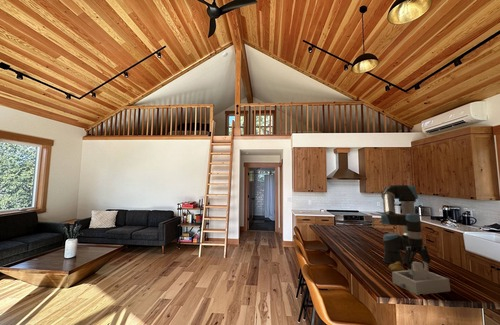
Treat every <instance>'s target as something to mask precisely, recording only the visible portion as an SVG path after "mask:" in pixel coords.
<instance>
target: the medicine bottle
mask: <svg viewBox="0 0 500 325" xmlns="http://www.w3.org/2000/svg"><path fill="white" fill-rule="evenodd" d="M423 262H424V261H421V260H413V261H412V263H411V264H413V272H414V275H412V278H413V280H415V281H418V280H427V274H426V269H424V263H423Z"/></svg>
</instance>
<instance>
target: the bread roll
mask: <svg viewBox="0 0 500 325" xmlns="http://www.w3.org/2000/svg"><path fill="white" fill-rule="evenodd" d="M388 270H389V272H391V273H392V272H394V271H405V270H406V269H405V267H404V265H403V264H402V263H401V262H399V261H398V262H396V263H394V264H388Z"/></svg>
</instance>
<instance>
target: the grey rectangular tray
mask: <svg viewBox="0 0 500 325" xmlns="http://www.w3.org/2000/svg"><path fill="white" fill-rule="evenodd" d="M426 274H427V273H426ZM391 278H392V283H393V284H394V285H396V286H399V287H400V288H401V289H404V290H406V291H408V292H410V293H411V294H413V295H416V296H421V295H420V294H423V295H429V294H430V293H431V294H439V293H445V292H446V293H447V292H451V284H450V278H448V277H446V276H443V275H439V274H437V273H435V272H431V271H429V274H427V280H418V281H415V280H413V278H412V275H411V274H409V269H407V270H406V269H405V271H394V272H391Z"/></svg>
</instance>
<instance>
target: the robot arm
mask: <svg viewBox="0 0 500 325" xmlns="http://www.w3.org/2000/svg"><path fill="white" fill-rule="evenodd" d="M380 197H381V199H382V202H383V203H382V204H383V213H381V214H380V221H381V224H382V225H386V226H403V233H401V235H400V234H399V233H393V232H392V233H385V234H383V238H382V240H383V250H384V254H383V257H382V261H384V262H383V263H385V262H386V263H385V264H388V263H389V264H388V265H391V264H394V263H396V262H398V261H399V262H401V263H402V264H403V266H404V265H405V263H406V265H407V270H409V274H411V275H414V272H413V264H412V261H414V258H415V255H417V254H418V255H419V256H420V257H421V259H422V262H423V263H424V269H426V273H427V274H429V272H430V270H429V264H430V262H432V260H431V257H430V255H429V252H428V249H427V248H428V247H427V246H426V245H424V243H423V241H424V240H423V234H422V225H421V223H422V222H421V217H420V216H421V215H420V214H418V213H416V212H415V203H416V201H417V200H418V199H419V197H418V192H417V189H416V186H415V185H412V184H402V185H401V184H399V185H398V184H396V185H395V184H394V185H388V186H387V187H385V188H384V189H383V190H382V192H381V196H380ZM395 200H398V201H399V203H400V205H401V213H402V214H397V213H396V207H395ZM402 252H405V253H404V257H403V255H402Z"/></svg>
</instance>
